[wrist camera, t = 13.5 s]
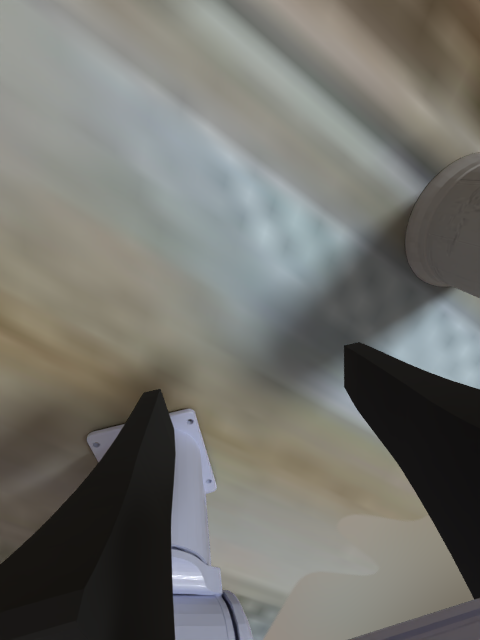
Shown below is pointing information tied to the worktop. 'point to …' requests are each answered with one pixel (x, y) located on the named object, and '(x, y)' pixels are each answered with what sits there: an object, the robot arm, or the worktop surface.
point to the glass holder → (448, 228)
